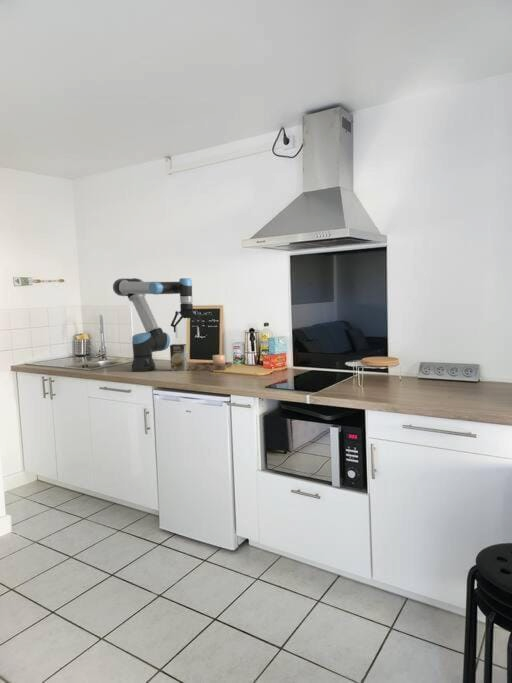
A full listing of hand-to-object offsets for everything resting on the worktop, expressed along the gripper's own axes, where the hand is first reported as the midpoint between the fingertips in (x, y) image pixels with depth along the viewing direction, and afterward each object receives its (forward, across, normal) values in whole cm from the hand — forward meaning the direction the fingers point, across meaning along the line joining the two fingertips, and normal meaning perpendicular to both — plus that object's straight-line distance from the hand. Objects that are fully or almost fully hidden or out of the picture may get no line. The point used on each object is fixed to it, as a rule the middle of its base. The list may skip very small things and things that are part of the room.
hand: (187, 337), depth 303 cm
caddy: (+20, +14, -7) cm, 25 cm away
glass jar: (+20, -6, -3) cm, 21 cm away
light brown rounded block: (+19, +20, -9) cm, 29 cm away
